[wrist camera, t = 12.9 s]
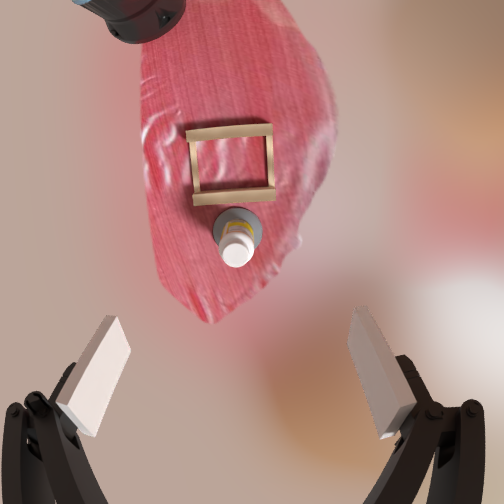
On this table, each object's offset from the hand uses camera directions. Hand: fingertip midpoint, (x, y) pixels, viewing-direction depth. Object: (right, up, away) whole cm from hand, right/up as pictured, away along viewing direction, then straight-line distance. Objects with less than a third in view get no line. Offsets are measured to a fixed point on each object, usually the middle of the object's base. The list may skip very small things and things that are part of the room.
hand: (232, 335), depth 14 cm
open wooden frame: (-2, +20, +31) cm, 37 cm away
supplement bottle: (-1, +8, +36) cm, 37 cm away
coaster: (-2, +8, +37) cm, 38 cm away
